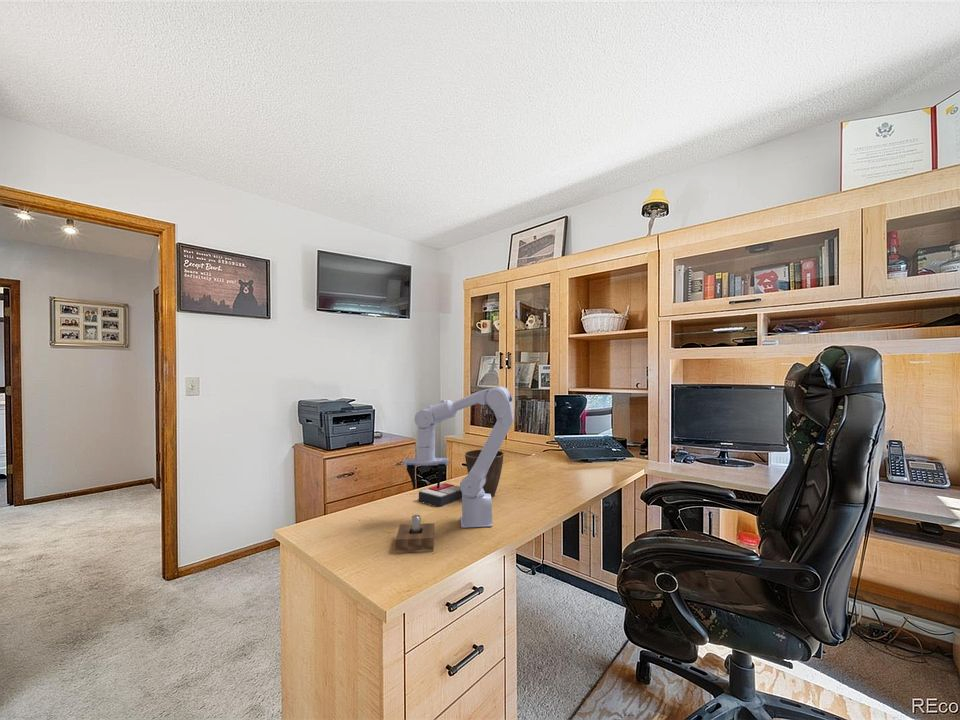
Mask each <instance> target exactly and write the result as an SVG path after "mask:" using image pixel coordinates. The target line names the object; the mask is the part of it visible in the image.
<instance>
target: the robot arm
mask: <svg viewBox="0 0 960 720" xmlns="http://www.w3.org/2000/svg"><path fill="white" fill-rule="evenodd" d="M513 402H514V399H513V396H512V394H511V392H510V390H509V389H508V388H507V387H506V386H503V385H500V386H496V387H493V388H487V389H482V390H479V391H475V392H474V393H471V394H468V395H467V396H465V397H462V398H459V399H457V400H455V401H453V400H450V399H447V400H446V399H442V400H440V402H439V403H437V404H434V405H431V404H430V405H428V406H427V408H424V409H420V410H419V411H417V412H416V414H415V415H414V423H415V425H416V426H417V427H416V428H417V431H416V434H417V435H416V438H417V440H416V441H417V443H416V445H417V446H416V447H417V450H416V451H417V454H416V455H417V456H416V458H409V459H408V458H407V459H403V462H402V463H403V465H402V467H406V471H407V473H408V475H409V478H410V480H411V486H412V489H413V490H416V488H417V487H416V485H417V482H416V481H417V480H416V479H417V478H416V467H417V466H418V467H421V466H422V467H423V466H426V467H427V466H437V482H436V486H437V488H439V485H441V481H442V477H443V475H444V472H445V470H446V466H448V467H449V464H450V463H449V461H450V459H449V458H448V457H436V427H435V426H436V425H435V424H438V423H442V422H443V421H446V420H449V419H451V418H454V417H455V416H456V415H457V413H458V411H461V410H464V409H466V408H468V407H471V406H474V405H484V406H486V405H488V407H489V408H490V409H491V410H492V411H493V413H494V414H493V415H494V416H495V418H496V422H495V424H494V426H493V427H492V429H491V432H490V433H489V436H488V437H487V438H486V441H485V443H484V445H483V446H482V449H481V450H482V451H481V453H480V455H479V456H478V458H477V460H476V462H475V464H474V466H473V467H472V469H471V470H470V472H469V474H468V473H467V475H466V476H465V477H464V478H462V479H461V481H460V484H459V486H460V490H461V492H462V498H461V516H460V526H461V528H467V529H468V528H488V527H491V528H492V527H493V504H492V502H493V501H492V497H491V494H486V493H485V492H484V489H483V486H484V485H485V483H486V475H487V473H488V470H489V468H490V466H491V464H492V462H493V460H494V458H495V456H496V454H497V452H498V451H500V448H501V446H502V444H503V443H504V440H505V438H506V436H507V435H508V433H509V431H510V429H511V427H512V425H513V423H514V421H515V413H514V403H513Z"/></svg>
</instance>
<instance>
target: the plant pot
mask: <svg viewBox="0 0 960 720" xmlns="http://www.w3.org/2000/svg"><path fill="white" fill-rule="evenodd" d="M481 451H482V449H474V450H470V451H469V450H468V451H466V452H465V453H464V457H465V464H466V465H465V466H466V469H467V475H468V474H469V472H470V470H471V469H472V467H473V466H474V464H475V462H476V460H477V458H478V456H479V455H480V453H481ZM504 455H505V454H504V452H503V451H501V450H498V452H497V454H496V456H495V458H494V460H493V462H492V464H491V466H490V468H489V470H488V473H487V475H486V483H485V485H484V486H483V489H484V492H485V493H486V494H491V498H493V497H495V496H496V492H497V489H498V485H499V483H500V479H501V474H502V469H503V462H504Z"/></svg>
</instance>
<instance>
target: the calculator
mask: <svg viewBox="0 0 960 720" xmlns="http://www.w3.org/2000/svg"><path fill="white" fill-rule="evenodd" d="M460 499H461V500H462V492H461V490H460V485H455V484H451V483H447V482H445V483H440V485H439V488H437V485H435V486H431V487H428V488H427V489H426V488H425V489H423V490H420V491H419V492H418V502H420V503H423V502H424V503H423V504H426V503H427V504H426V505H430V504H431V505H430V506H433V505H434V506H433V507H436V508H437V507H438V508H443V507H444V505H445V506H448V505H449V504H450V503H453V502H455V501H457V500H460Z"/></svg>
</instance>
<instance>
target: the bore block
mask: <svg viewBox="0 0 960 720" xmlns="http://www.w3.org/2000/svg"><path fill="white" fill-rule="evenodd" d="M397 529H398V530H397V532H396V537H395V540H394V541H395V543H394V544H395V550H394V551H395V553H396V554H401V553H403V554H404V553H421V552H424V553H425V552H434V548H435V546H434V545H435V537H436V536H435V534H436V533H435V529H436V527H435V522H430V523H420V534H412V523H405V524H399V527H398V528H397Z"/></svg>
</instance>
